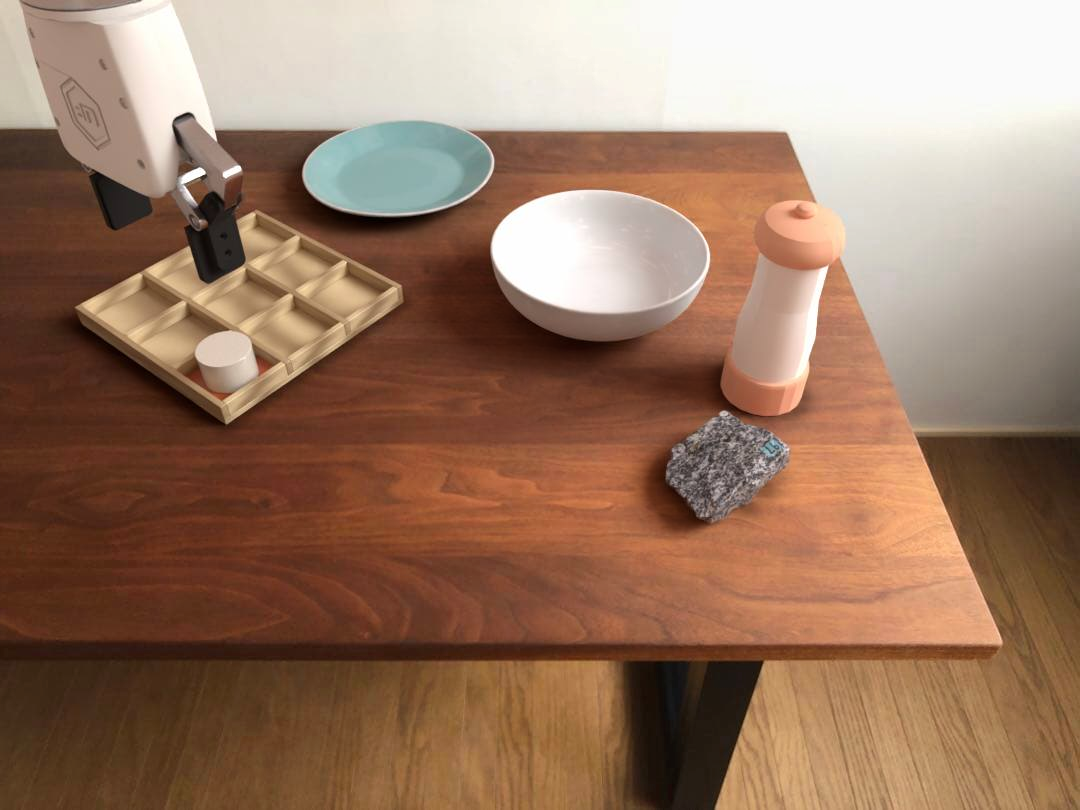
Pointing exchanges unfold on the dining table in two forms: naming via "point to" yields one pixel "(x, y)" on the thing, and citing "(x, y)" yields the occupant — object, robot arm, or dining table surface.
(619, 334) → the serving bowl
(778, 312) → the pepper shaker
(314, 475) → the dining table surface
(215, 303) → the wooden compartment tray
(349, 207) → the plate
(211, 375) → the white cylinder puck
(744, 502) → the rock
